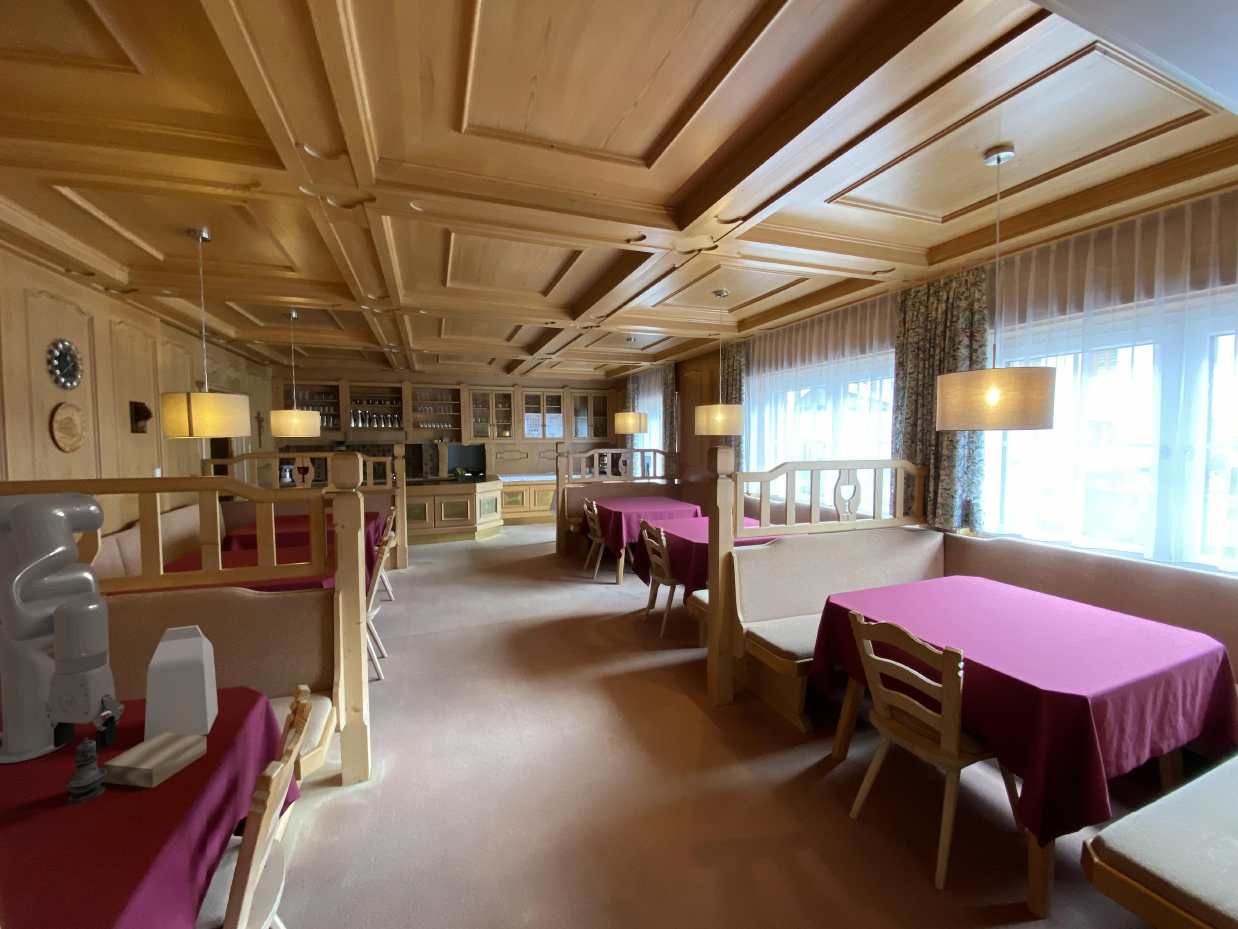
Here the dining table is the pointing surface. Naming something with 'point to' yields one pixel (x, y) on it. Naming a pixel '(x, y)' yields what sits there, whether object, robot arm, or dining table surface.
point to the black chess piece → (86, 774)
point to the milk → (181, 684)
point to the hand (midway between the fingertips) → (85, 745)
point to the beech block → (155, 759)
